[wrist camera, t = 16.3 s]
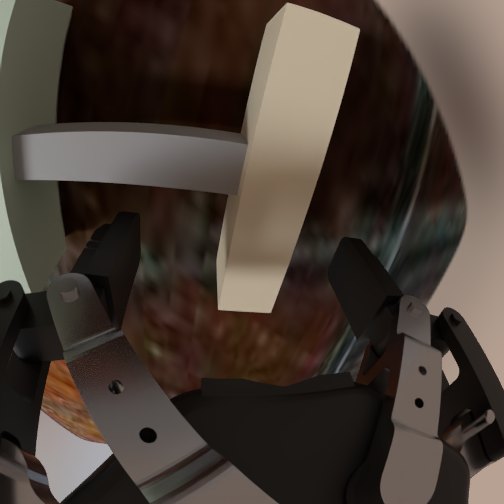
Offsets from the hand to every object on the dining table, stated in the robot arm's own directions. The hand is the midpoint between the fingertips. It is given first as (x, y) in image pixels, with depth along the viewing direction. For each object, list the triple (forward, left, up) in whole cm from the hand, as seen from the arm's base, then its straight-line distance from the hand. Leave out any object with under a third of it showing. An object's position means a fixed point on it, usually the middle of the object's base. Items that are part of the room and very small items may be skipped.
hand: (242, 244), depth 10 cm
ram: (+3, +5, -2) cm, 7 cm away
